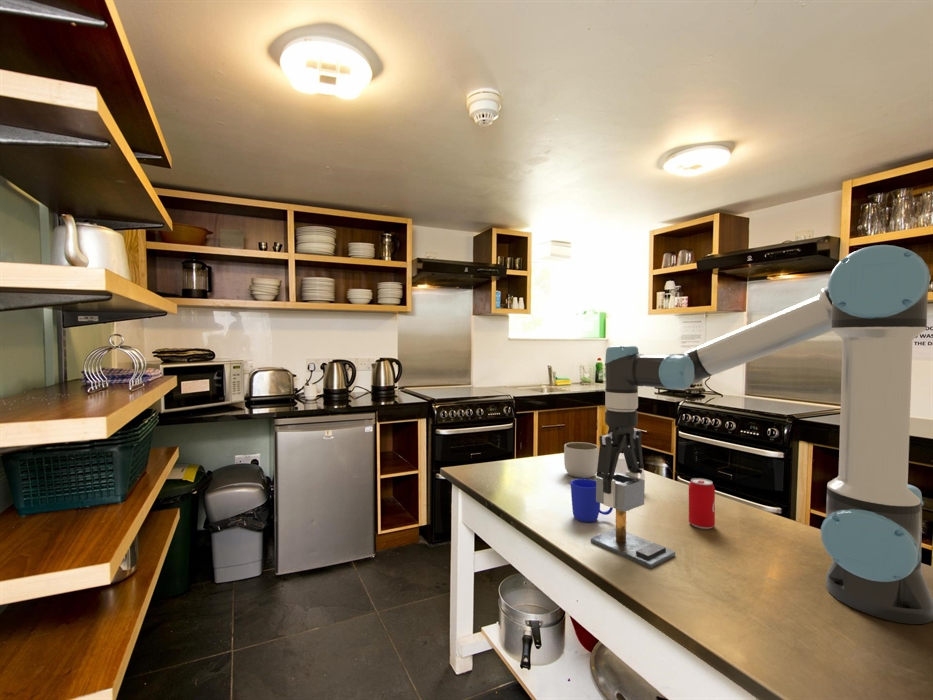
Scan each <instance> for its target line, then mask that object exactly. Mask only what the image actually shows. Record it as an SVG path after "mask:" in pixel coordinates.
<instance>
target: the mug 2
mask: <svg viewBox="0 0 933 700" xmlns="http://www.w3.org/2000/svg"><path fill="white" fill-rule="evenodd" d="M637 463H639V462H637ZM641 470H642V473H641V474H640V473H637V478H640V479H643V480H645V479H646V474H645V470H644V468H643V469H641ZM626 471H629V470H628V467H627V464H626V460H625V457H624V453H622V452H621V453H620V454H619V457H618V461H617V465H616V469H615V472H619V473H623V474H626ZM629 472H630V471H629ZM639 474H640V475H639ZM639 476H640V477H639Z"/></svg>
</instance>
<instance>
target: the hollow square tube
mask: <svg viewBox="0 0 933 700" xmlns="http://www.w3.org/2000/svg"><path fill="white" fill-rule="evenodd" d="M595 479H596V480H595V481H596V502H599V503H600V504H602V505H604V492H603V479H602V478H600V477H597V476H596V477H595ZM613 480H615V508H614V509H615V510H616V509H618V510H620V511H623V512H625V511H626V512H629V511H630V510H632V509H633V510H634V509H636V508H639V507H641V506H644V505H645V489H646V487H645V484H646V483H645V481H646V480H645V479H644V480H643V479H640V477H638V478H636V477H633V476H629V475H626V474H623V473H619V472H615V473H614V477H613Z"/></svg>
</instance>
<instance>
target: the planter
mask: <svg viewBox="0 0 933 700" xmlns="http://www.w3.org/2000/svg"><path fill="white" fill-rule="evenodd" d="M599 449H600V445H598V444H594V443H591V442H584V441H583V442H580V441H579V442H578V441H575V442H574V441H571V442H567V443H565V444H563V452H564V453H563V455H564V456H563V457H564V458H563V459H564V460H563V461H564V463H563V464H564V469H565V470H566V472H567V474H568V475H570V476H571V477H574V478H576V479H589V478H592V477H594V476H595V475H597V467H598V458H599Z"/></svg>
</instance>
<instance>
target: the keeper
mask: <svg viewBox="0 0 933 700" xmlns="http://www.w3.org/2000/svg"><path fill="white" fill-rule="evenodd" d="M590 543H592V544H595V545H597V546H599V547H600V548H603V549H605V550H607V551H610V552H612V553H614V554H616V555H619V556H621V557H623V558H625V559H627V560H630V561H632V562H634V563H637V564H638V565H641V566H643V567H645V568H648V569H649V570H652V569H653V568H655V567H657V566H659V565H661V564H663V563H664V562H666V561H668V560H670V559H672V558H674V557H676V551H675V550H673V549H671V548H668V547H665V546H663V545H661V544H658V543H655V542H652V541H649V540H647V539H644V538H642V537H639V536H637V535H634V534H631V533H630V532H627V511H625V512H623V511H620V510H618V509H615V528H613V529H611V530H608V531H605V532H603V533H601V534H598V535H596V536H593V537H591V538H590Z"/></svg>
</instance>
